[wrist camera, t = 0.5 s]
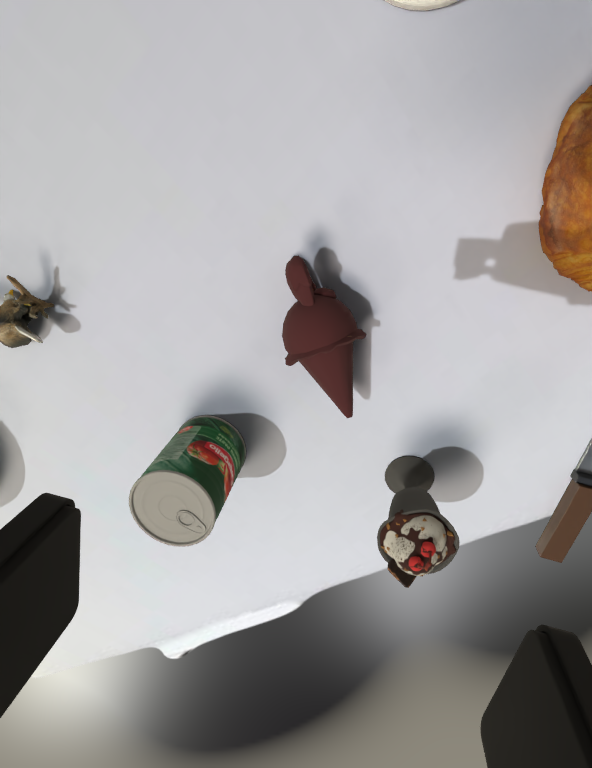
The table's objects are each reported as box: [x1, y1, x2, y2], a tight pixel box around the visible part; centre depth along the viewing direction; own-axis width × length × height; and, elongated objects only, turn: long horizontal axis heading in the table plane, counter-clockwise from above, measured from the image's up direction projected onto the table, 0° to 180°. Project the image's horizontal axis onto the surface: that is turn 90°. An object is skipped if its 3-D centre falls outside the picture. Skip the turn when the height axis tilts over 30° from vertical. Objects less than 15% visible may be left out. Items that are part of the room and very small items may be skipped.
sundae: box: [377, 456, 459, 587], centre depth 41 cm, size 7×7×15 cm
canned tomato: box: [129, 415, 246, 546], centre depth 45 cm, size 8×8×11 cm
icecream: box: [282, 256, 366, 418], centre depth 41 cm, size 7×7×15 cm
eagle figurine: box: [0, 275, 54, 348], centre depth 45 cm, size 8×7×9 cm
